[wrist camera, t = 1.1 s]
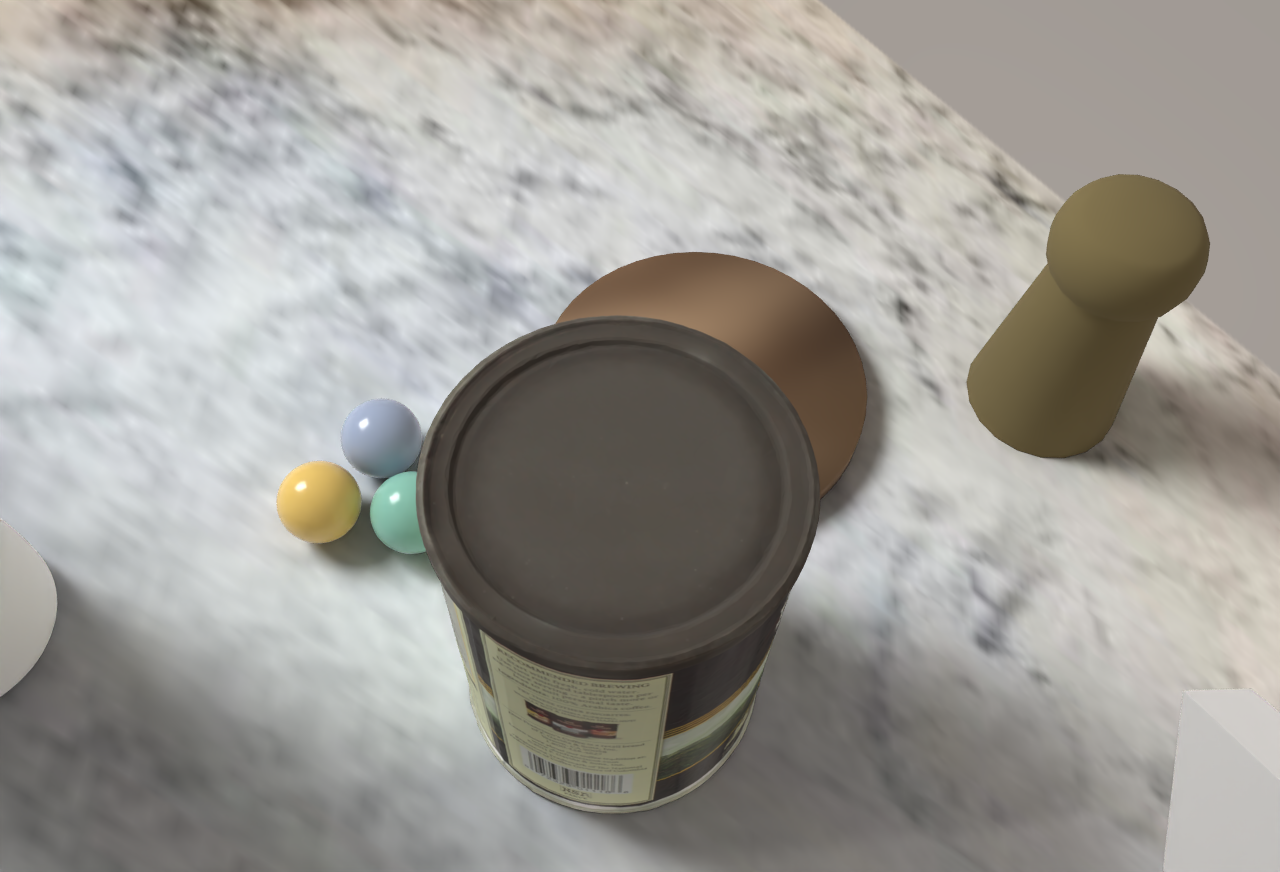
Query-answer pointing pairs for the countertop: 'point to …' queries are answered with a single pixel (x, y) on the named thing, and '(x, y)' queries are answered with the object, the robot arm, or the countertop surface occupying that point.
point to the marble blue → (381, 438)
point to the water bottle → (23, 606)
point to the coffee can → (616, 551)
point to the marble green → (397, 514)
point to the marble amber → (319, 502)
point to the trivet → (752, 335)
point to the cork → (1088, 315)
